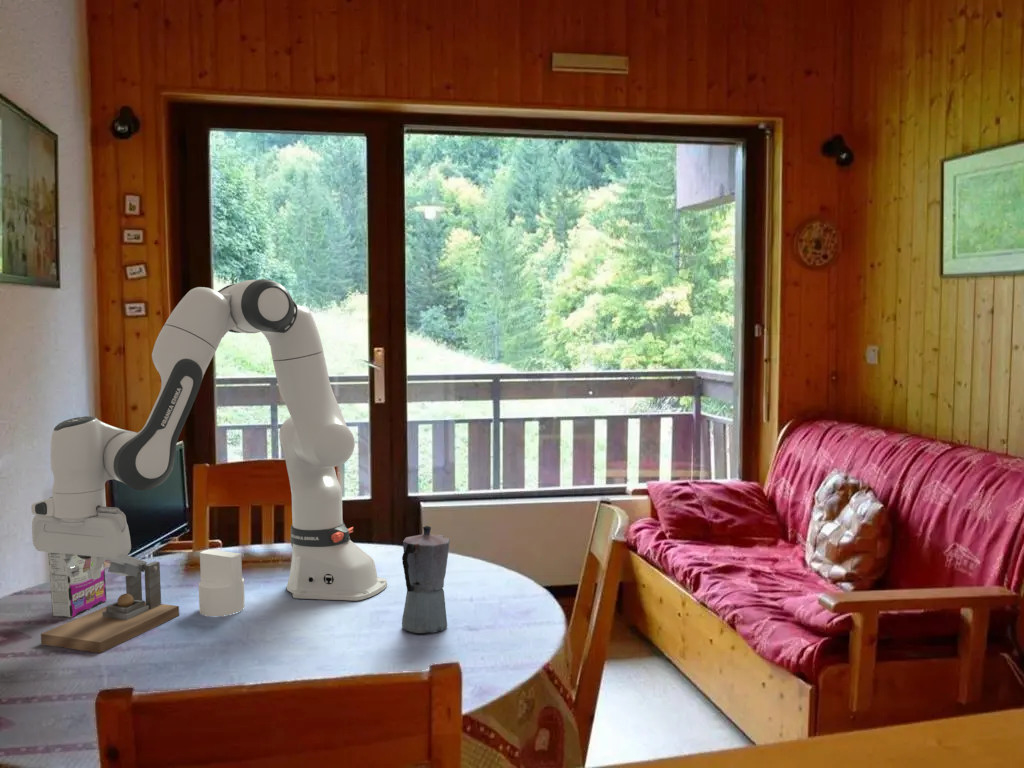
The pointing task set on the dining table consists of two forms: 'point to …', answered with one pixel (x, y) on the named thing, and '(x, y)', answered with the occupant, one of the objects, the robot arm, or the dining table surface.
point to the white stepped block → (221, 583)
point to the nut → (125, 600)
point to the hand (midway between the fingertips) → (83, 577)
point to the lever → (123, 565)
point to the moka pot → (425, 582)
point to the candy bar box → (74, 587)
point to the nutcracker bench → (116, 618)
